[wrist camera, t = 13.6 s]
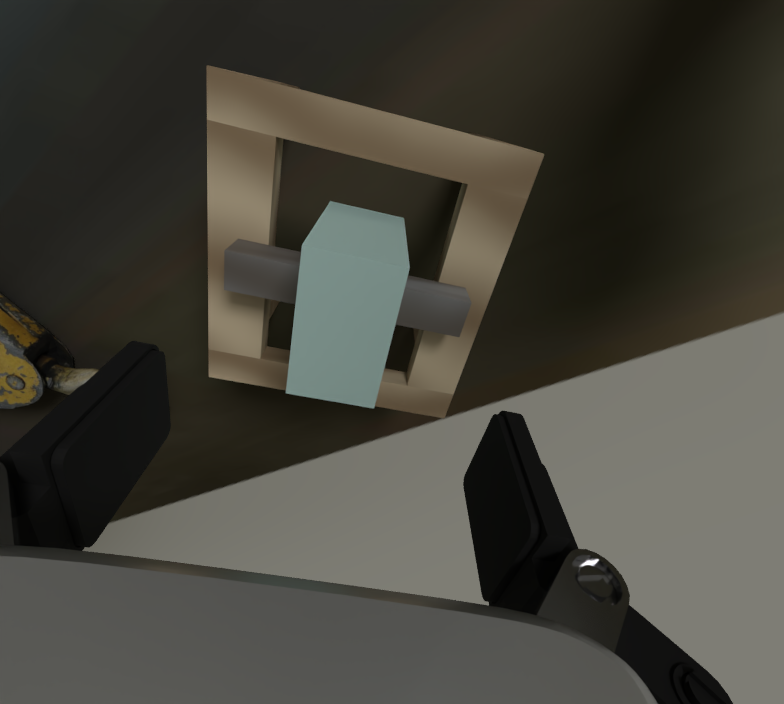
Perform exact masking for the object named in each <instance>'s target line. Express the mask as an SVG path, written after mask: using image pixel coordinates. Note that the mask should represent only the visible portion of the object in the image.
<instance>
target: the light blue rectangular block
mask: <svg viewBox="0 0 784 704" xmlns="http://www.w3.org/2000/svg"><path fill="white" fill-rule="evenodd" d="M409 269H410V265H409V257H408V248H407V240H406V231H405V223H404V218H402V217H397V216H393V215H389V214H384V213H380V212H375V211H371V210H367V209H362V208H358V207H354V206H349V205H345V204H341V203H336V202H332V201H330V203H329V204H328V206H327V207H326V209H325V210H324V212H323V213H322V215H321V216H320V218H319V219H318V221H317V222H316V224H315V226H314V227H313V229H312V230H311V232H310V233H309V235H308V236H307V238H306V239H305V241H304V242H303V244H302V249H301V258H300V267H299V276H298V285H297V295H296V304H295V313H294V322H293V331H292V340H291V349H290V359H289V368H288V377H287V386H286V393H287V394H293V395H298V396H304V397H310V398H316V399H322V400H327V401H333V402H339V403H345V404H351V405H356V406H362V407H368V408H374V407H375V403H376V399H377V395H378V391H379V387H380V383H381V379H382V375H383V372H384V368H385V364H386V360H387V356H388V352H389V348H390V344H391V340H392V336H393V332H394V328H395V324H396V320H397V317H398V313H399V309H400V305H401V301H402V297H403V293H404V289H405V285H406V281H407V277H408V273H409Z"/></svg>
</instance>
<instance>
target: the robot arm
mask: <svg viewBox="0 0 784 704" xmlns="http://www.w3.org/2000/svg"><path fill="white" fill-rule="evenodd" d="M169 431H170V412H169V400H168V388H167V375H166V363H165V355H164V353H163V352H161V351H159V348H158V347H157V346H156V345H153V344H147V343H142V342H137V341H132V342H130V343H129V344H127V345H126V346H125V347H124V348H123V349H122V350H121V351H120V352H119V353H118V354H116V355H115V356H114V357H113V358H112V359H111V360H110V361H109V362H108V363H106V364H105V365H104V366H103V367H102V368H101V369H100V370H99V371H98V372H96V373H95V374H94V375H93V376H92V377H91V378H90V379H89V380H88V381H87V382H85V383H84V384H82V385H81V386H79V387H78V388H77V389H76V390H74V391H73V392H72V393H71V394H70V395H69V396H68V397H67V398H65V399H64V400H63V401H62V402H61V403H60V404H59V405H58V406H57V407H55V408H54V409H53V410H52V411H51V412H50V413H49V414H48V415H47V416H45V417H44V418H43V419H42V420H41V421H40V422H39V423H38V424H37V425H35V426H34V427H33V428H32V429H31V430H30V431H29V432H28V433H27V434H25V435H24V436H23V437H22V438H21V439H20V440H19V441H18V442H16V443H15V444H14V445H13V446H12V447H11V448H10V449H9V450H8V451H6V452H5V453H4V454H3V455H2V456H1V457H0V704H733V703H732V701H731V700H730V698H729V696H728V694H727V693H726V692H725V690H724V689H723V688H722V686H721V685H720V684H719V682H718V681H717V680H716V679H715V678H714V677H713V676H712V675H711V674H710V673H709V672H708V671H707V670H705V669H704V668H703V667H702V666H700V665H699V664H698V663H697V662H696V661H695V660H694V659H692V658H691V657H690V656H689V655H688V654H687V653H685V652H684V651H683V650H682V649H681V648H679V647H678V646H677V645H676V644H674V642H672V641H671V640H670V639H669V638H668V637H666V636H665V635H664V634H663V633H662V632H661V631H659V630H658V629H657V628H656V627H655V626H653V625H652V624H651V623H650V622H649V621H647V620H646V619H645V618H644V617H643V616H642V615H640V614H639V613H638V612H637V611H636V610H634V609H633V608H632V607H631V606H630V605H629V597H630V595H629V591H628V587H627V585H626V583H625V581H624V579H623V577H622V575H621V574H620V573H619V572H618V571H617V569H616V568H615V567H614V566H613V565H612V564H611V563H610V562H608V561H607V560H606V559H605V558H603V557H602V556H600V555H599V554H597V553H595V552H592V551H589V550H587V549H578V547H577V544H576V542H575V539H574V537H573V534H572V532H571V529H570V527H569V524H568V522H567V519H566V517H565V514H564V512H563V509H562V507H561V504H560V502H559V499H558V497H557V494H556V492H555V489H554V487H553V485H552V482H551V479H550V477H549V475H548V472H547V470H546V468H545V466H544V465H543V464H542V463H541V460H540V458H539V456H538V453H537V450H536V448H535V445H534V443H533V440H532V438H531V435H530V433H529V430H528V428H527V425H526V423H525V420H524V418H523V416H522V415H521V414H517V413H512V412H507V411H501V412H500V413H499V414H498V415H496V414H494V415H493V417H492V418H491V420H490V423H489V425H488V427H487V429H486V431H485V433H484V435H483V437H482V440H481V442H480V444H479V446H478V448H477V450H476V453H475V455H474V457H473V459H472V461H471V463H470V465H469V467H468V469H467V472H466V474H465V477H464V484H463V485H464V492H465V498H466V504H467V510H468V516H469V522H470V528H471V534H472V539H473V545H474V551H475V557H476V563H477V569H478V574H479V581H480V586H481V592H482V597H483V599H484V600H485V601H488V602H489V606H487V605H480V604H475V603H468V602H462V601H456V600H450V599H443V598H436V597H429V596H422V595H415V594H407V593H400V592H393V591H386V590H379V589H372V588H365V587H357V586H350V585H343V584H336V583H328V582H321V581H313V580H306V579H299V578H291V577H284V576H276V575H268V574H261V573H254V572H246V571H239V570H231V569H224V568H216V567H208V566H200V565H193V564H185V563H177V562H170V561H162V560H153V559H146V558H139V557H131V556H122V555H114V554H105V553H94V552H86V551H82V550H83V549H84V547H90V546H92V545H93V544H94V543H95V542H96V541H97V539H98V538H99V536H100V535H101V533H102V532H103V530H104V529H105V527H106V526H107V524H108V523H109V522H110V520H111V519H112V517H113V516H114V514H115V513H116V511H117V510H118V508H119V507H120V505H121V504H122V503H123V501H124V500H125V498H126V497H127V495H128V494H129V492H130V491H131V489H132V488H133V486H134V485H135V484H136V482H137V481H138V479H139V478H140V476H141V475H142V473H143V472H144V470H145V469H146V467H147V466H148V465H149V463H150V462H151V460H152V459H153V457H154V456H155V454H156V453H157V451H158V450H159V448H160V447H161V446H162V444H163V443H164V441H165V440H166V438H167V436H168V434H169Z"/></svg>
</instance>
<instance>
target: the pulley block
mask: <svg viewBox="0 0 784 704" xmlns="http://www.w3.org/2000/svg"><path fill="white" fill-rule="evenodd" d="M98 371H99V369H74V365H73V357H72V356H71V354H70V353H69V351H68V350H67V348H66V347H65V346H64V345H63V344H62V343H61V342H60V341H59V340H58V339H57V338H55V337H54V336H53V335H52V334H51V333H50V332H49V331H48V330H47V329H45V328H44V327H43V326H42V325H40V324H39V323H38V322H37V321H36V320H34V319H33V318H32V317H30V316H29V315H28V314H27V313H25V312H24V311H23V310H21V309H20V308H19V307H17V306H16V305H15V304H14V303H13V302H11V301H10V300H9V299H8V298H7V297H5V296H4V295H3V294H2V293H0V408H9V409H13V408H17V407H21V406H26V405H30V404H33V403H35V402H36V401H38V400H39V399H40V398H41V396H42V394H43V393H44V388H48V389H51V390H55V391H58V392H61V393H64V394H67V395H70V394H71V393H72V392H73V391H74V390H76V389H77V388H78V387H79V386H81V385H82V384H84V383H85V382H87V381H88V380H89V379H90V378H91V377H92V376H93V375H94V374H95V373H96V372H98Z"/></svg>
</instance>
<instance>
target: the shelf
mask: <svg viewBox="0 0 784 704" xmlns="http://www.w3.org/2000/svg"><path fill="white" fill-rule="evenodd" d="M283 139H287V140H292V141H296V142H300V143H304V144H308V145H312V146H316V147H320V148H324V149H328V150H332V151H336V152H340V153H344V154H348V155H352V156H356V157H360V158H364V159H368V160H372V161H376V162H380V163H384V164H388V165H392V166H396V167H400V168H405V169H409V170H413V171H417V172H421V173H425V174H429V175H433V176H437V177H441V178H445V179H449V180H453V181H457V182H461V183H462V185H461V189H460V192H459V196H458V199H457V202H456V206H455V209H454V213H453V216H452V219H451V223H450V226H449V229H448V233H447V236H446V240H445V243H444V246H443V250H442V253H441V257H440V260H439V263H438V267H437V270H436V274H435V277H434V280H433V281H432V280H428V279H423V278H418V277H414V276H409V275H408V277H407V281H406V285H405V289H404V293H403V297H402V301H401V305H400V309H399V313H398V317H397V320H396V324H395V325H400V326H405V327H410V328H413V329H414V339H415V345H414V348H413V352H412V355H411V358H410V362H409V365H408V369H407V372H401V371H396V370H391V369H385V368H384V372H383V375H382V379H381V383H380V387H379V391H378V395H377V399H376V403H375V406H377V407H383V408H388V409H394V410H400V411H405V412H411V413H417V414H422V415H428V416H434V417H439V418H445V415H446V413H447V410H448V407H449V405H450V402H451V400H452V397H453V394H454V392H455V389H456V386H457V384H458V381H459V378H460V376H461V373H462V371H463V368H464V365H465V363H466V360H467V357H468V355H469V352H470V349H471V347H472V344H473V341H474V339H475V336H476V334H477V331H478V328H479V326H480V323H481V320H482V318H483V315H484V312H485V310H486V307H487V305H488V302H489V299H490V297H491V294H492V291H493V289H494V286H495V283H496V281H497V278H498V276H499V273H500V270H501V268H502V265H503V262H504V260H505V257H506V254H507V252H508V249H509V247H510V244H511V241H512V239H513V236H514V233H515V231H516V228H517V225H518V223H519V220H520V218H521V215H522V212H523V210H524V207H525V204H526V202H527V199H528V196H529V194H530V191H531V189H532V186H533V183H534V181H535V178H536V175H537V173H538V170H539V167H540V165H541V162H542V160H543V157H544V154H543V153H539V152H536V151H533V150H529V149H526V148H523V147H519V146H516V145H513V144H509V143H506V142H503V141H499V140H496V139H493V138H489V137H485V136H482V135H478V134H474V133H469V134H468V133H464V132H460V131H456V130H453V129H449V128H445V127H441V126H437V125H434V124H430V123H426V122H422V121H418V120H415V119H411V118H407V117H403V116H399V115H396V114H392V113H388V112H384V111H380V110H377V109H373V108H369V107H365V106H361V105H358V104H354V103H350V102H346V101H342V100H339V99H335V98H331V97H327V96H323V95H319V94H316V93H312V92H308V91H304V90H300V89H299V87H296V86H292V85H288V84H284V83H280V82H277V81H272V80H268V79H264V78H259V77H255V76H251V75H247V74H242V73H238V72H234V71H229V70H225V69H221V68H216V67H212V66H208V65H207V186H208V333H209V377H213V378H218V379H224V380H230V381H235V382H241V383H247V384H252V385H258V386H264V387H269V388H275V389H281V390H286V386H287V377H288V368H289V359H290V350H284V349H279V348H274V347H268V346H267V340H268V327H269V319H270V317H271V316H272V314H273V312H274V311H275V309H276V307H277V305H278V304H279V302H280V301H281V302H286V303H291V304H296V295H297V285H298V276H299V267H300V258H301V252H298V251H294V250H289V249H284V248H280V247H275V238H276V226H277V213H278V200H279V188H280V175H281V162H282V150H283Z"/></svg>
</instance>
